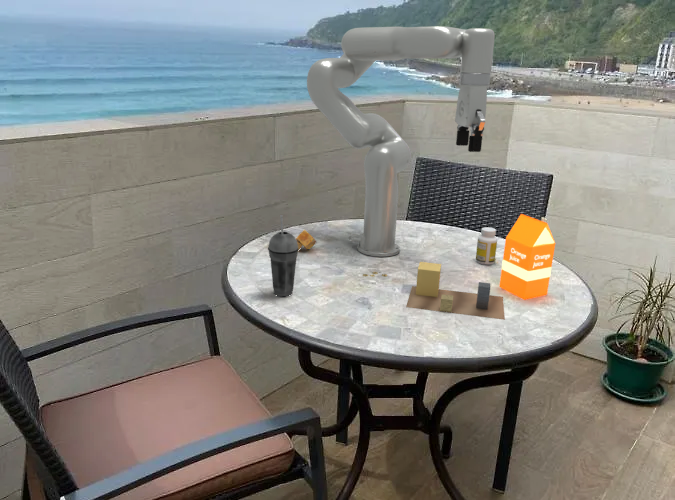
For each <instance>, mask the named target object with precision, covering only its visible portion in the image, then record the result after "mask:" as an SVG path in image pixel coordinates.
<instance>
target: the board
mask: <svg viewBox="0 0 675 500" xmlns="http://www.w3.org/2000/svg"><path fill="white" fill-rule="evenodd" d="M410 288H411V289H410V293H409V294H408V295H409V296H408V298H407V299H408V300H407V303H406V305H405V307H406V308H409V309H417V310H426V311H433V312H441V313H445V312H444V311H440V305H441V296H442V295H451V296H453V303H452V312H447V313H448V314H458V315H464V316H473V317H480V318H488V319H497V320H502V321H504V320H506V318H505V316H506V315H505V306H504V296H501V295H500V296H499V295H492V294H491V295H489V303H488V310H486V309H478V308H476V301H477V293H476V292H475V293H474V292H466V291H456V290H451V289H450V290H449V289H442V288H439V291H438V297H432V296H424V295H416V286H415V285H412V286H411V287H410Z"/></svg>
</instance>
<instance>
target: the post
mask: <svg viewBox="0 0 675 500" xmlns="http://www.w3.org/2000/svg"><path fill="white" fill-rule="evenodd" d="M476 294H477V301H476V308H478V309H486V310H488V303H489V295H490V294H491V283H490V282H481V281H478V286H477V293H476Z"/></svg>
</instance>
